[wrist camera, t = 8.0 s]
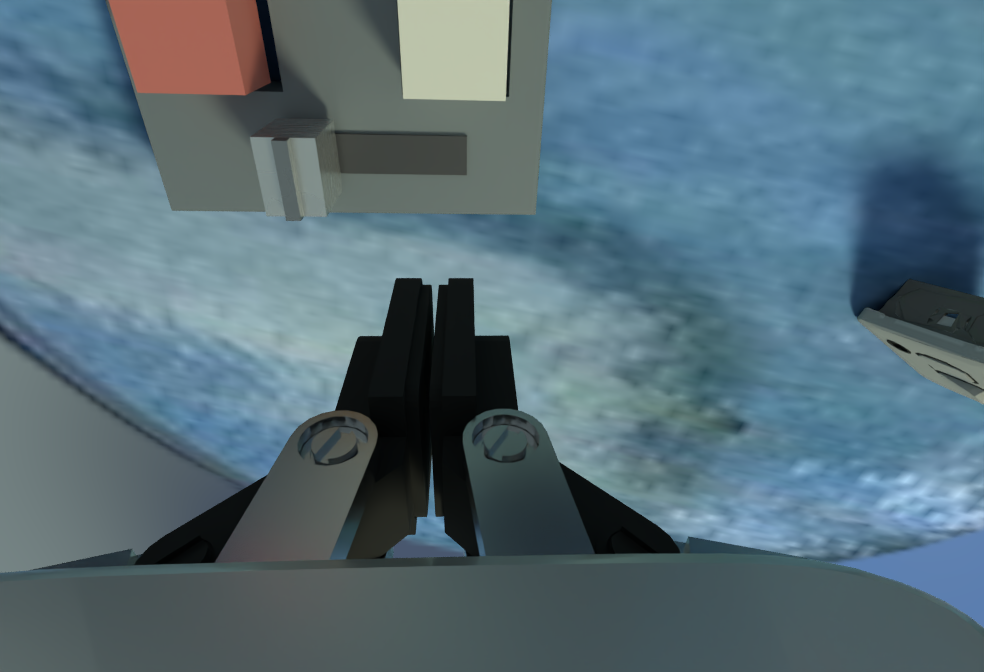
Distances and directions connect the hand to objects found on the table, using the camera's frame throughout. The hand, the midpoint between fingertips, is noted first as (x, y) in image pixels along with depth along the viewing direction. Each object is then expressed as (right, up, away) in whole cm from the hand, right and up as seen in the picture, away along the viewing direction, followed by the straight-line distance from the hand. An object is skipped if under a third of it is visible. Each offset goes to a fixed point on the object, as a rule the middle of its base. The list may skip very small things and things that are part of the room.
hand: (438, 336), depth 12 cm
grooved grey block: (-7, +8, +13) cm, 17 cm away
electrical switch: (+30, +1, +24) cm, 38 cm away
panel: (-6, +12, +14) cm, 20 cm away
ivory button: (0, +13, +10) cm, 16 cm away
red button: (-10, +13, +10) cm, 19 cm away
